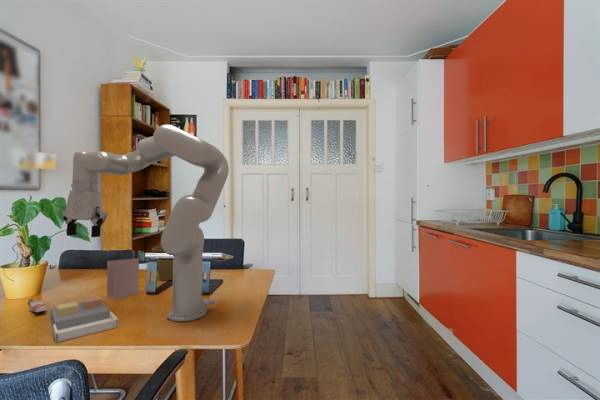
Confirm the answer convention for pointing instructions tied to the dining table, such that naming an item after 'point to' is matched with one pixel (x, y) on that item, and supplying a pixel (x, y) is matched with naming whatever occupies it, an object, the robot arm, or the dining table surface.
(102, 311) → the slate board
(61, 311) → the tile mustard
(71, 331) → the tray
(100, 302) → the salmon pink block
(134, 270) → the greeting card
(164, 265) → the plant pot
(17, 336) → the dining table surface
